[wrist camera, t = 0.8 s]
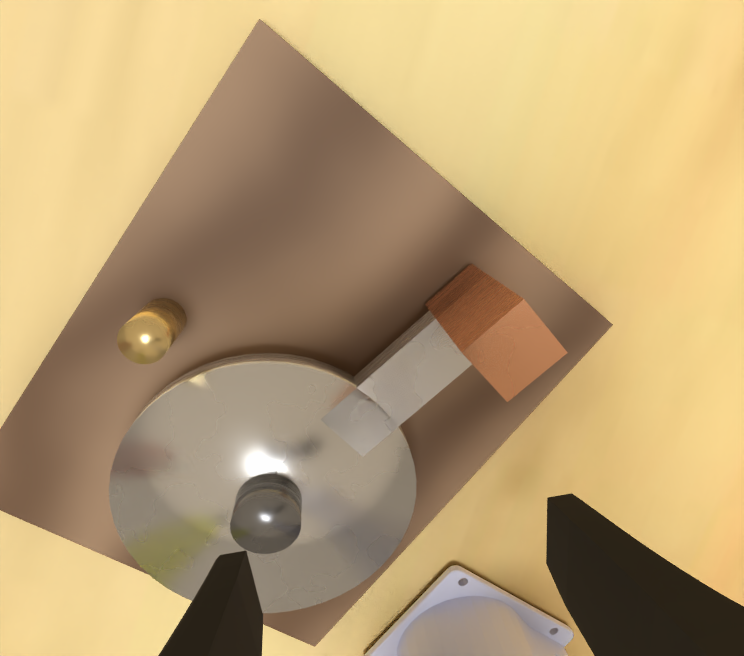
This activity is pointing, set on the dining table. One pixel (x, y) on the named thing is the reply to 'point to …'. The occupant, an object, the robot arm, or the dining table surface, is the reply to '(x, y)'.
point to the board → (278, 297)
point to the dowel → (151, 331)
